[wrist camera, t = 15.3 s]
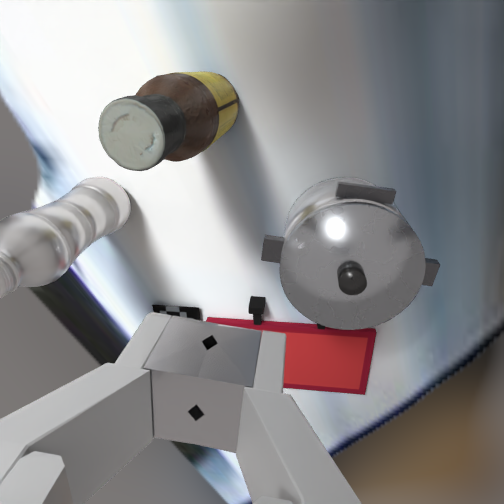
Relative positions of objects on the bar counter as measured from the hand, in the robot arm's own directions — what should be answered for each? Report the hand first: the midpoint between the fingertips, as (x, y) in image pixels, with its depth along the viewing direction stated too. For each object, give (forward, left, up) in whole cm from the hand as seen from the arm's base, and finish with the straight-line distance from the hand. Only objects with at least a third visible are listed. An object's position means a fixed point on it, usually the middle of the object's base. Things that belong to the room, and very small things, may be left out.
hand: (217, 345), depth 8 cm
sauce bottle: (-2, -8, -34) cm, 35 cm away
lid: (+10, +8, -25) cm, 28 cm away
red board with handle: (+28, 0, -34) cm, 44 cm away
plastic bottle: (+10, -20, -34) cm, 40 cm away
